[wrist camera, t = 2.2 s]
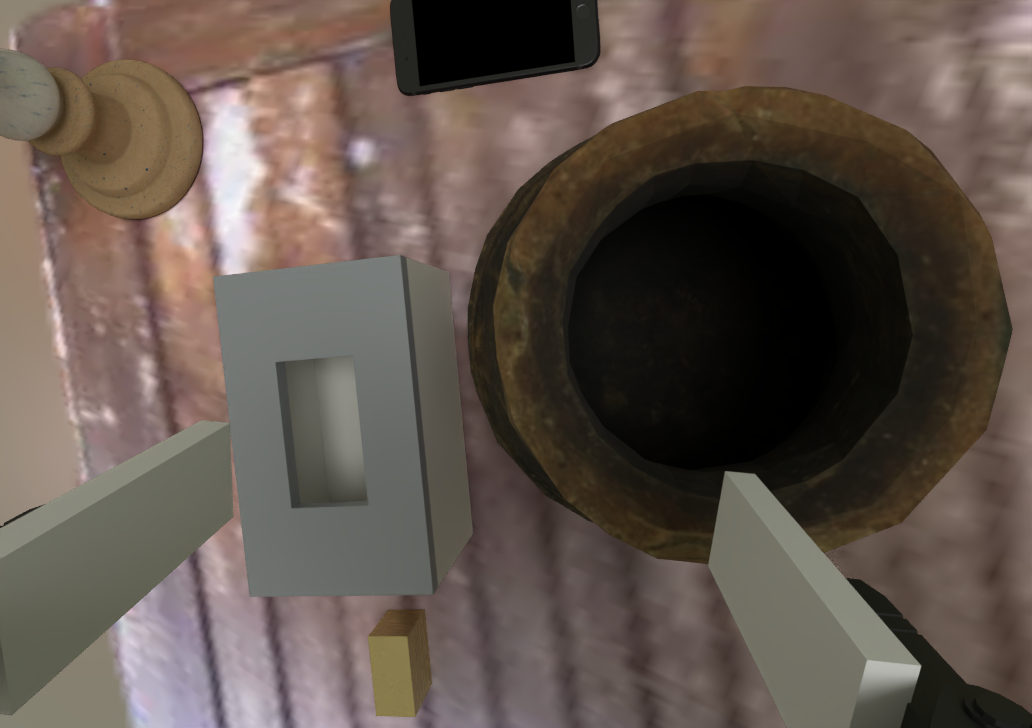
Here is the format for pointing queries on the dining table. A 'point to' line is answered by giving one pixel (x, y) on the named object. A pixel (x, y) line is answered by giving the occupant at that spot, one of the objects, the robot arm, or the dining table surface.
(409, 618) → the yellow rectangular block
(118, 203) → the candle holder
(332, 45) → the dining table surface
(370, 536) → the box
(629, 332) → the ceramic pot
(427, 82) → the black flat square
